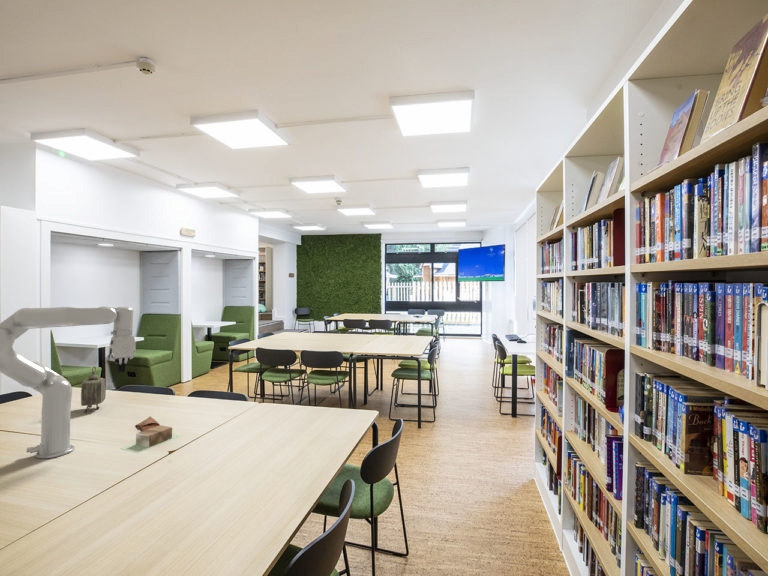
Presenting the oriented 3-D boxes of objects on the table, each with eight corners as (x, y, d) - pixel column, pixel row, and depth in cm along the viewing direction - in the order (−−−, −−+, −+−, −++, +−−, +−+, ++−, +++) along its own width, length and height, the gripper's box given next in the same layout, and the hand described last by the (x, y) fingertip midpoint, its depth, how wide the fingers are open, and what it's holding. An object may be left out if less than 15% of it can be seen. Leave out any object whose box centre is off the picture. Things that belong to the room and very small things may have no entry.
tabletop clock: (87, 407, 232) (88, 364, 233) (105, 405, 236) (106, 364, 236) (80, 414, 219) (81, 369, 219) (100, 412, 223) (101, 368, 223)
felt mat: (137, 453, 168) (137, 452, 168) (120, 449, 172) (120, 448, 172) (181, 436, 188) (181, 435, 188) (164, 433, 192) (164, 432, 192)
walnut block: (148, 435, 174) (172, 427, 185) (136, 433, 177) (160, 425, 188) (148, 447, 174) (171, 438, 185) (135, 444, 177) (159, 435, 188)
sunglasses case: (133, 425, 202) (141, 413, 204) (146, 429, 206) (154, 417, 209) (143, 434, 189) (151, 421, 192) (156, 439, 194) (164, 425, 196)
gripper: (111, 334, 177) (109, 375, 176) (143, 332, 190) (141, 370, 190) (101, 333, 180) (99, 374, 179) (133, 331, 193) (131, 369, 193)
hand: (121, 372), depth 184 cm, fingers closed
